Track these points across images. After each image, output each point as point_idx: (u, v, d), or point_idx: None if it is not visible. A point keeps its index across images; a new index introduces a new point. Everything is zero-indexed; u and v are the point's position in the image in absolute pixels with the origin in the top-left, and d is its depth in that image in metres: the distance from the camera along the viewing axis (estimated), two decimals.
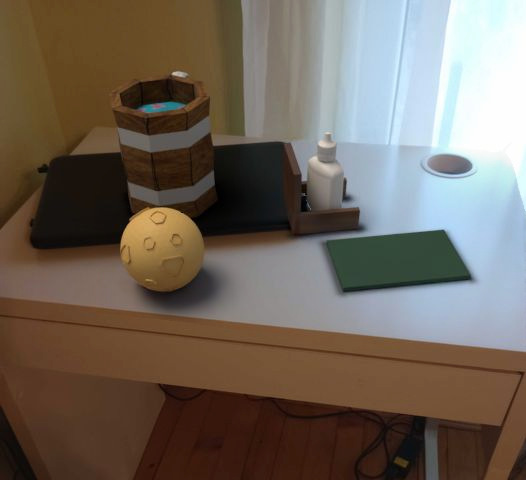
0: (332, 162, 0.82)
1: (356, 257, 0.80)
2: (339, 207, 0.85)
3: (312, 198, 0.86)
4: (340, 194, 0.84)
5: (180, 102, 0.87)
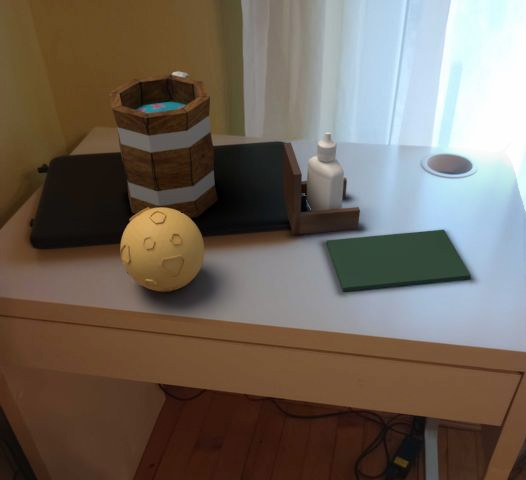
0: (332, 162, 0.82)
1: (356, 257, 0.80)
2: (339, 207, 0.85)
3: (312, 198, 0.86)
4: (340, 194, 0.84)
5: (180, 102, 0.87)
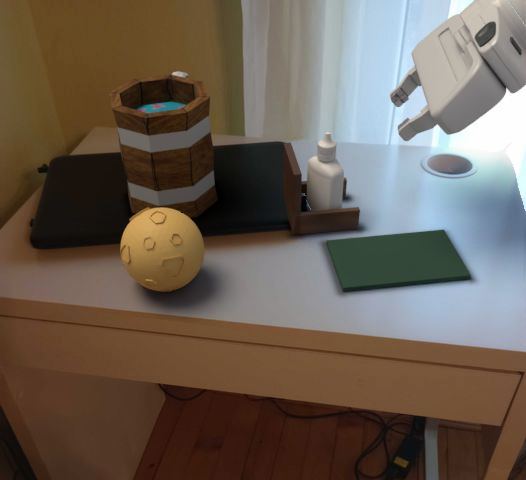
0: (332, 162, 0.82)
1: (356, 257, 0.80)
2: (339, 207, 0.85)
3: (312, 198, 0.86)
4: (340, 194, 0.84)
5: (180, 102, 0.87)
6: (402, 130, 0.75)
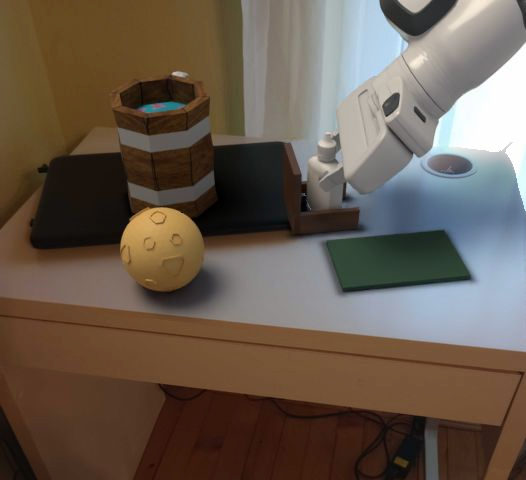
0: (332, 162, 0.82)
1: (356, 257, 0.80)
2: (339, 207, 0.85)
3: (312, 198, 0.86)
4: (340, 194, 0.84)
5: (180, 102, 0.87)
6: (322, 182, 0.81)
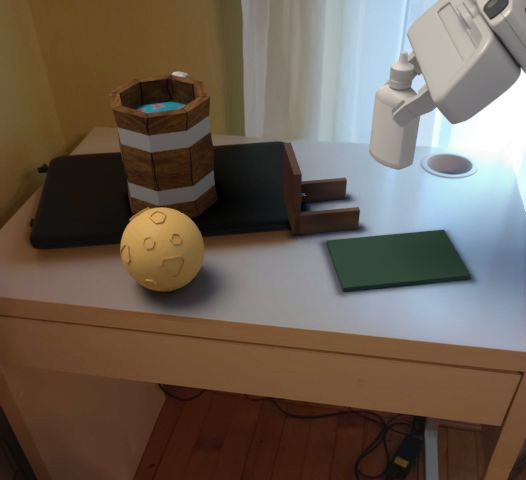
0: (408, 90, 0.67)
1: (356, 257, 0.80)
2: (413, 148, 0.70)
3: (379, 139, 0.71)
4: (415, 131, 0.69)
5: (180, 102, 0.87)
6: (397, 114, 0.66)
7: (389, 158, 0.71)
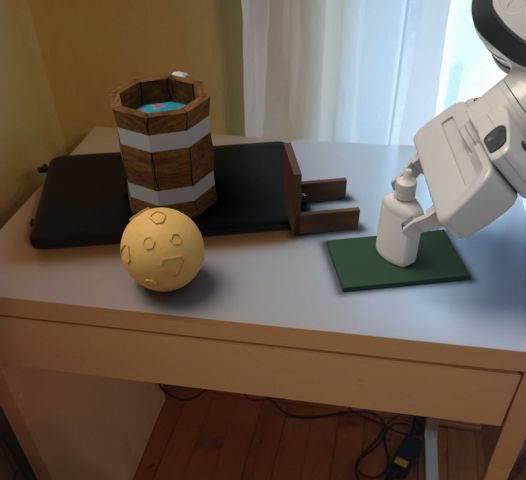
0: (411, 201, 0.74)
1: (356, 257, 0.80)
2: (415, 249, 0.77)
3: (385, 239, 0.78)
4: (418, 236, 0.76)
5: (180, 102, 0.87)
6: (406, 229, 0.71)
7: (393, 257, 0.78)
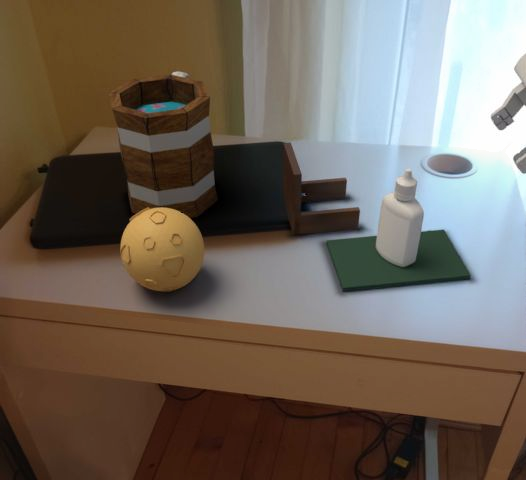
0: (411, 201, 0.74)
1: (356, 257, 0.80)
2: (415, 249, 0.77)
3: (385, 239, 0.78)
4: (418, 236, 0.76)
5: (180, 102, 0.87)
6: (521, 161, 0.65)
7: (393, 257, 0.78)
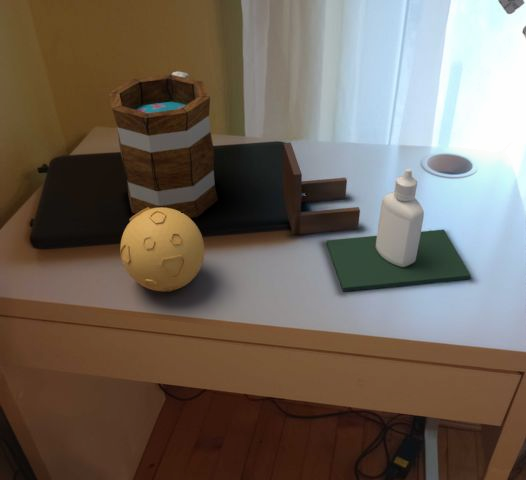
0: (411, 201, 0.74)
1: (356, 257, 0.80)
2: (415, 249, 0.77)
3: (385, 239, 0.78)
4: (418, 236, 0.76)
5: (180, 102, 0.87)
6: None
7: (393, 257, 0.78)
